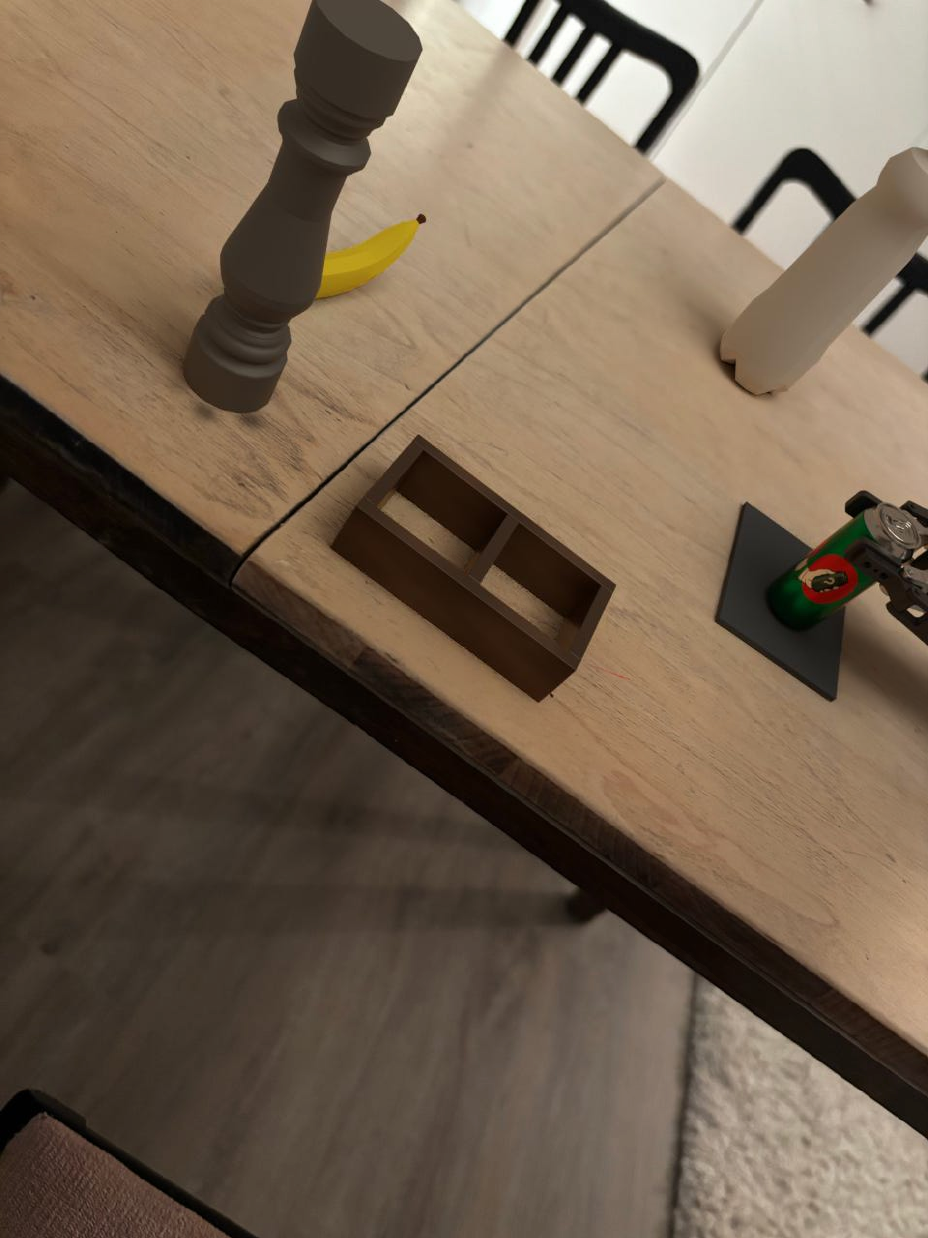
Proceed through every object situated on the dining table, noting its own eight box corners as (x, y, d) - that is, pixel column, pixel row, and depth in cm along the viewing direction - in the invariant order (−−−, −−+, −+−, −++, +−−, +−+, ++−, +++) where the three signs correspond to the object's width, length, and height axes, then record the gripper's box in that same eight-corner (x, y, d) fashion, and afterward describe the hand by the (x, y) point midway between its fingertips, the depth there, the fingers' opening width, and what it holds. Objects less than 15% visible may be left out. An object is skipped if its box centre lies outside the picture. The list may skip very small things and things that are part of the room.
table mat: (831, 702, 77) (836, 699, 77) (714, 621, 75) (719, 617, 75) (844, 578, 88) (848, 574, 87) (742, 504, 86) (746, 500, 86)
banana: (194, 298, 67) (218, 225, 62) (382, 264, 80) (414, 201, 75) (217, 328, 66) (244, 257, 62) (403, 289, 79) (436, 227, 74)
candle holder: (236, 335, 67) (373, -19, 49) (290, 399, 66) (450, 63, 48) (163, 354, 63) (283, -25, 44) (220, 423, 62) (365, 65, 44)
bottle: (794, 402, 101) (1049, 161, 80) (743, 404, 96) (1001, 146, 74) (750, 339, 104) (984, 89, 83) (698, 337, 99) (933, 69, 77)
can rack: (581, 618, 68) (617, 584, 65) (539, 703, 62) (576, 670, 59) (391, 474, 67) (418, 433, 64) (329, 547, 61) (355, 505, 58)
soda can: (814, 642, 79) (930, 562, 70) (766, 620, 78) (879, 535, 69) (807, 596, 82) (918, 514, 73) (761, 574, 81) (869, 487, 72)
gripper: (1048, 548, 77) (888, 436, 74) (1075, 678, 68) (892, 555, 65) (971, 597, 83) (818, 494, 80) (985, 723, 73) (813, 612, 70)
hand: (852, 522), depth 72 cm, fingers closed on soda can, 5 cm apart
